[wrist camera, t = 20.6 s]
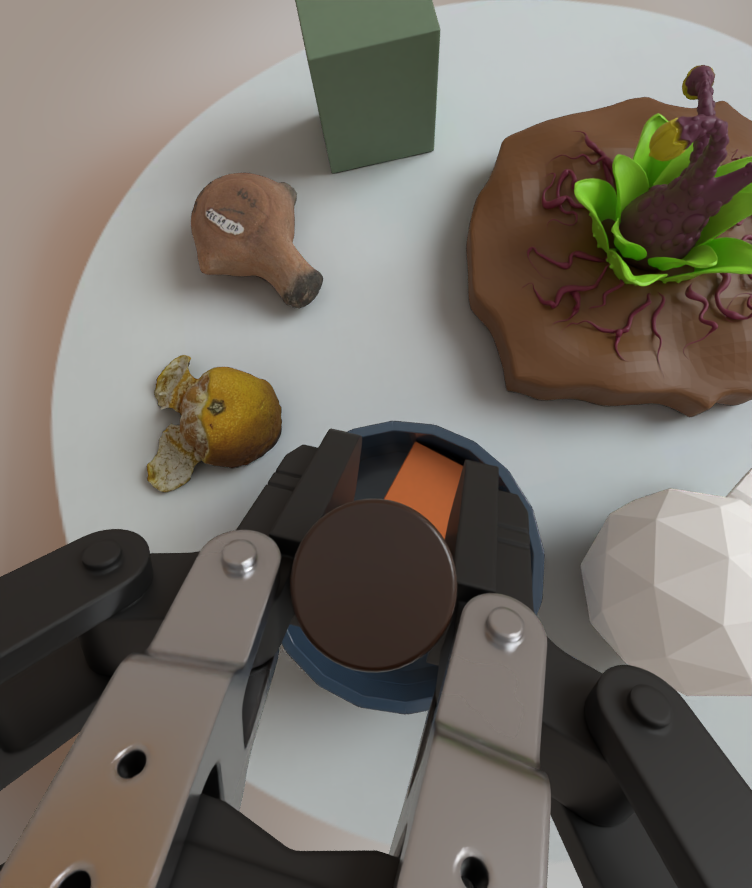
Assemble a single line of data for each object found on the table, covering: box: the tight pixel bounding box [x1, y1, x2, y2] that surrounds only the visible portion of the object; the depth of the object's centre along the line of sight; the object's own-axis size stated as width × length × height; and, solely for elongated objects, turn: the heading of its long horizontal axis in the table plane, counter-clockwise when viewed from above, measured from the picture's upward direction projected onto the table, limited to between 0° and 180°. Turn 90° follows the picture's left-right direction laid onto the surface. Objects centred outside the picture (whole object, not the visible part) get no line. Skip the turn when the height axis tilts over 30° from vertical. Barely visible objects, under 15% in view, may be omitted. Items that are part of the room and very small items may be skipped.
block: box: [384, 442, 463, 540], centre depth 26 cm, size 4×4×4 cm
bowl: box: [282, 421, 545, 714], centre depth 25 cm, size 13×13×6 cm
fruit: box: [147, 355, 282, 492], centre depth 28 cm, size 8×8×4 cm
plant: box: [466, 65, 752, 417], centre depth 25 cm, size 20×20×11 cm
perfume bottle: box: [581, 468, 752, 696], centre depth 23 cm, size 9×9×12 cm
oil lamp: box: [191, 173, 323, 308], centre depth 31 cm, size 9×4×8 cm
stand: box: [295, 0, 440, 173], centre depth 30 cm, size 7×5×8 cm
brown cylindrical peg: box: [290, 499, 457, 673], centre depth 11 cm, size 3×3×9 cm
